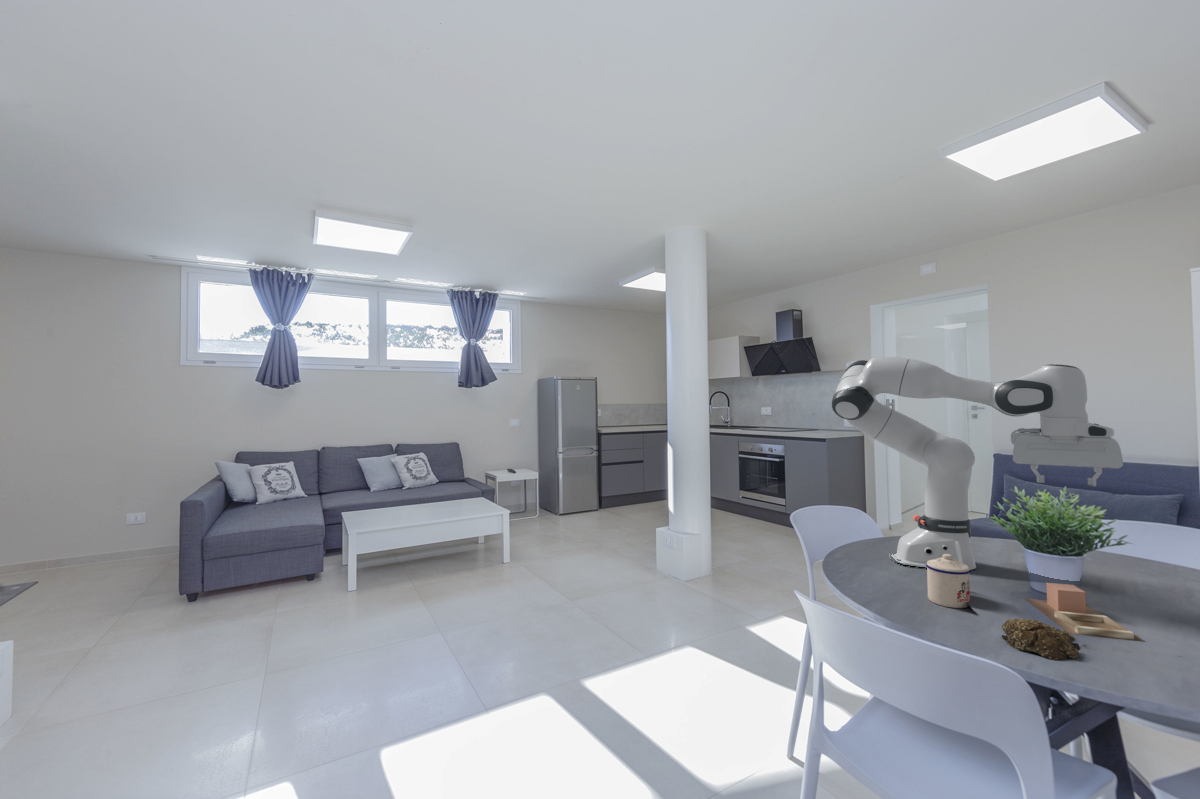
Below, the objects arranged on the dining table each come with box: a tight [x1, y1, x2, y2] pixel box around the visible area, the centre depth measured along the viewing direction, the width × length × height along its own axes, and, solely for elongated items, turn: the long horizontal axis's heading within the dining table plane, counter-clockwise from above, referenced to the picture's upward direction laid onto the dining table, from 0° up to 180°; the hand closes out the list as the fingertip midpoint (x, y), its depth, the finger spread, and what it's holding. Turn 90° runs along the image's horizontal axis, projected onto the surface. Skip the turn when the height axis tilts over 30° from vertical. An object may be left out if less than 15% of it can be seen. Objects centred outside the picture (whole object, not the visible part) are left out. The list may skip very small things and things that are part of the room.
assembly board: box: [1024, 598, 1146, 643], centre depth 111 cm, size 12×20×3 cm, turn 161°
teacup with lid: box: [926, 554, 971, 609], centre depth 126 cm, size 12×9×12 cm
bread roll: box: [1001, 618, 1081, 661], centre depth 102 cm, size 13×12×5 cm
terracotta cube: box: [1045, 582, 1087, 614], centre depth 116 cm, size 5×5×5 cm
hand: (1065, 484), depth 126 cm, fingers open, 8 cm apart
